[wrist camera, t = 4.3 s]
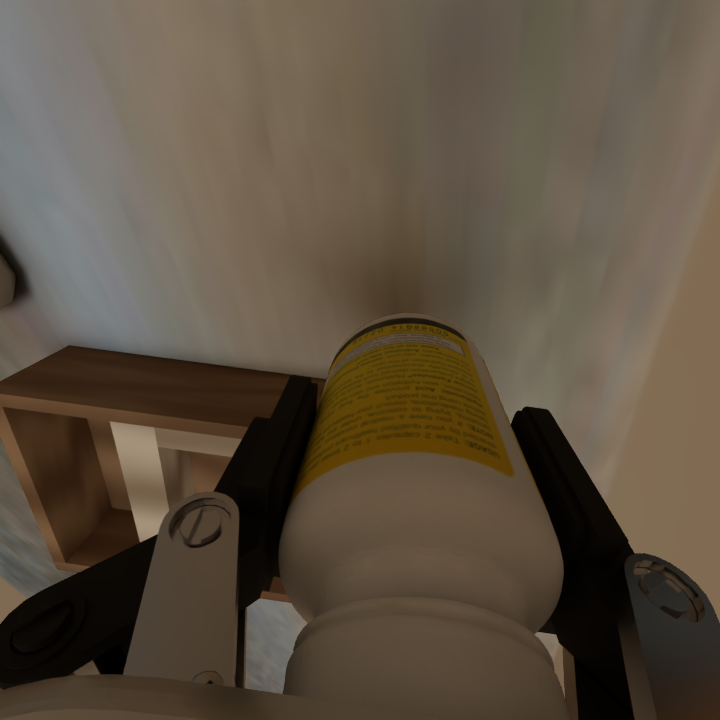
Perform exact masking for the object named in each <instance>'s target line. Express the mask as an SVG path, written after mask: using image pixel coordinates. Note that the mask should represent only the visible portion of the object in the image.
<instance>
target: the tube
mask: <svg viewBox="0 0 720 720" xmlns="http://www.w3.org/2000/svg"><path fill="white" fill-rule="evenodd" d="M15 280H16V276H15V273H14V272H13V270H12V269H11V267H10V266H9V264H8V263H7V261H6V260H5V259H4V257H3V256H2V254H1V253H0V309H1V308H2V307H4V306H5V305H7V304H9V303H10V302H12V299H13V295H14V289H15Z"/></svg>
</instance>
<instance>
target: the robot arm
mask: <svg viewBox="0 0 720 720" xmlns="http://www.w3.org/2000/svg"><path fill="white" fill-rule="evenodd" d="M317 392H318V384H317V383H311V377H304V376H297V375H291V376H290V378H289V380H288V382H287V384H286V386H285V388H284V390H283V393H282V395H281V397H280V399H279V401H278V403H277V405H276V407H275V409H274V411H273V413H272V415H271V417H270V418H263V417H255V418H254V419H253V420H252V422H251V424H250V425H249V427H248V429H247V431H246V433H245V435H244V436H243V438H242V440H241V442H240V444H239V446H238V447H237V449H236V451H235V453H234V455H233V456H232V458H231V460H230V462H229V464H228V466H227V467H226V469H225V471H224V473H223V475H222V477H221V478H220V480H219V482H218V484H217V486H216V488H215V489H214V491H213V492H202V493H198V494H193V495H191V496H189V497H187V498H185V499H183V500H181V501H180V502H178V503H177V504H176V505H174V506H173V507H172V508H171V509H170V510H169V512H168V513H167V514H166V515H165V516H164V519H163V521H162V523H161V525H160V528H159V532H158V534H157V535H155V536H153V537H150V538H148V539H146V540H144V541H142V542H140V543H138V544H136V545H134V546H132V547H130V548H128V549H126V550H124V551H122V552H120V553H118V554H116V555H114V556H112V557H110V558H107V559H105V560H103V561H101V562H99V563H97V564H95V565H93V566H91V567H89V568H87V569H85V570H83V571H81V572H79V573H77V574H75V575H73V576H71V577H69V578H67V579H64V580H62V581H60V582H58V583H56V584H54V585H52V586H50V587H48V588H46V589H44V590H42V591H40V592H38V593H37V594H35V595H33V596H32V597H30V598H28V599H27V600H25V601H24V602H23V603H22V604H20V605H19V606H18V607H17V608H16V609H14V610H13V611H12V612H11V613H9V614H8V616H7V617H6V618H5V619H4V620H3V622H2V623H1V624H0V720H449V719H442V718H436V717H429V716H423V715H417V714H410V713H404V712H397V711H391V710H384V709H378V708H371V707H364V706H358V705H351V704H344V703H338V702H331V701H325V700H318V699H311V698H305V697H298V696H291V695H285V694H278V693H271V692H265V691H258V690H252V689H245V681H246V629H247V607H248V606H249V605H251V604H252V603H253V602H255V601H256V600H258V599H259V598H260V596H261V593H262V590H263V591H270V587H271V584H272V581H273V577H279V578H281V576H280V570H279V561H278V556H279V542H280V537H281V532H282V528H283V524H284V518H285V514H286V511H287V507H288V504H289V501H290V498H291V494H292V491H293V487H294V484H295V481H296V478H297V474H298V471H299V468H300V464H301V461H302V458H303V455H304V452H305V449H306V445H307V442H308V439H309V435H310V432H311V429H312V425H313V422H314V419H315V416H316V410H317ZM511 427H512V430H513V431H514V433H515V436H516V438H517V441H518V443H519V446H520V448H521V450H522V453H523V455H524V457H525V460H526V462H527V464H528V467H529V469H530V471H531V474H532V476H533V478H534V481H535V483H536V485H537V488H538V490H539V492H540V494H541V497H542V499H543V501H544V504H545V507H546V509H547V511H548V514H549V517H550V520H551V523H552V525H553V528H554V531H555V534H556V536H557V539H558V543H559V546H560V550H561V554H562V559H563V567H564V576H563V584H562V591H561V594H560V597H559V600H558V603H557V606H556V608H555V609H554V611H553V613H552V615H551V616H550V618H549V619H548V620H547V621H546V623H545V624H544V625H543V626H542V627H541V628H540V629H539V631H538V632H543V633H550V634H556V635H557V638H558V641H559V643H560V644H561V645H562V646H563V667H564V687H565V702H566V705H567V709H568V712H569V716H570V719H571V720H720V623H719V620H718V618H717V615H716V613H715V610H714V608H713V606H712V604H711V603H710V601H709V599H708V597H707V595H706V594H705V593H704V592H703V591H702V589H701V588H700V587H699V586H698V585H697V584H696V582H694V581H693V580H692V579H691V578H690V577H689V576H688V575H687V574H685V573H684V572H683V571H681V570H680V569H678V568H677V567H676V566H674V565H673V564H671V563H669V562H667V561H665V560H663V559H661V558H659V557H656V556H653V555H649V554H645V553H643V554H642V553H639V554H638V553H634V552H633V550H632V548H631V547H630V545H629V543H628V539H627V538H626V536H625V535H624V533H623V531H622V529H621V528H620V526H619V525H618V523H617V521H616V519H615V518H614V516H613V515H612V513H611V511H610V510H609V508H608V506H607V505H606V503H605V501H604V500H603V498H602V497H601V495H600V493H599V492H598V490H597V488H596V487H595V485H594V483H593V482H592V480H591V478H590V477H589V475H588V474H587V472H586V470H585V469H584V467H583V465H582V464H581V462H580V460H579V459H578V457H577V455H576V454H575V452H574V451H573V449H572V447H571V446H570V444H569V442H568V441H567V439H566V437H565V436H564V434H563V433H562V431H561V429H560V428H559V426H558V424H557V423H556V421H555V419H554V418H553V416H552V414H551V413H550V412H549V410H547V409H541V408H534V407H524V408H523V409H522V411H517V412H516V413H515V415H514V418H513V420H512V423H511Z"/></svg>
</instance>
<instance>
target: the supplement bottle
mask: <svg viewBox="0 0 720 720" xmlns="http://www.w3.org/2000/svg"><path fill="white" fill-rule="evenodd" d="M278 561H279V570H280V576H281V580H282V583H283V586H284V588H285V591H286V593H287V595H288V597H289V599H290V601H291V603H292V605H293V606H294V608H295V609H296V611H297V612H298V613H299V614H300V615H301V617H302V618H303V619H304V620H305V621H306V622H307V623H308V624H307V625H306V626H305V627H304V628H303V629H302V631H301V632H300V634H299V635H298V637H297V639H296V642H295V646H294V652H293V654H292V655H291V657H290V659H289V661H288V665H287V668H286V675H285V684H284V690H283V694H285V695H291V696H298V697H305V698H311V699H318V700H325V701H331V702H338V703H344V704H351V705H358V706H364V707H371V708H378V709H384V710H391V711H397V712H404V713H410V714H417V715H423V716H429V717H436V718H442V719H449V720H571V719H570V716H569V712H568V709H567V705H566V702H565V698H564V695H563V691H562V687H561V685H560V682H559V680H558V677H557V675H556V673H555V672H554V665H553V661H552V658H551V656H550V654H549V652H548V650H547V649H546V647H545V646H544V645H543V643H542V642H541V641H540V640H539V638H538V637H536V636H535V635H534V634H535V633H537V632H538V631H539V629H540V628H541V627H542V626H543V625H544V624H545V623H546V621H547V620H548V619H549V618H550V616H551V615H552V613H553V611H554V609H555V608H556V606H557V603H558V600H559V597H560V594H561V591H562V584H563V576H564V567H563V559H562V554H561V550H560V546H559V543H558V539H557V536H556V534H555V531H554V528H553V525H552V523H551V520H550V517H549V514H548V511H547V509H546V507H545V504H544V501H543V499H542V497H541V494H540V492H539V490H538V488H537V485H536V483H535V481H534V478H533V476H532V474H531V471H530V469H529V467H528V464H527V462H526V460H525V457H524V455H523V453H522V450H521V448H520V446H519V443H518V441H517V438H516V436H515V433H514V431H513V430H512V427H511V425H510V422H509V419H508V417H507V415H506V413H505V410H504V408H503V405H502V403H501V401H500V398H499V395H498V393H497V391H496V389H495V386H494V384H493V381H492V379H491V376H490V374H489V371H488V369H487V367H486V365H485V362H484V360H483V358H482V356H481V354H480V353H479V351H478V349H477V347H476V346H475V344H474V343H473V342H472V341H471V339H470V338H469V337H468V336H467V335H466V334H465V333H463V332H462V331H461V330H460V329H458V328H457V327H455V326H454V325H452V324H450V323H449V322H446V321H444V320H442V319H439V318H436V317H433V316H430V315H425V314H419V313H398V314H392V315H388V316H384V317H381V318H378V319H375V320H373V321H371V322H369V323H367V324H365V325H363V326H362V327H360V328H359V329H357V330H356V331H355V332H354V333H353V334H352V335H351V336H350V337H349V338H348V339H347V340H346V341H345V342H344V343H343V345H342V346H341V347H340V349H339V350H338V352H337V354H336V356H335V358H334V360H333V362H332V365H331V367H330V370H329V373H328V377H327V380H326V383H325V387H324V390H323V393H322V397H321V400H320V403H319V406H318V409H317V413H316V416H315V419H314V422H313V425H312V429H311V432H310V435H309V439H308V442H307V445H306V449H305V452H304V455H303V458H302V461H301V464H300V468H299V471H298V474H297V478H296V481H295V484H294V487H293V491H292V494H291V498H290V501H289V504H288V507H287V511H286V514H285V518H284V524H283V528H282V532H281V537H280V542H279V556H278Z"/></svg>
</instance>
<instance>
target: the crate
mask: <svg viewBox="0 0 720 720" xmlns="http://www.w3.org/2000/svg"><path fill="white" fill-rule="evenodd" d="M290 376H291V375H287V374H280V373H272V372H265V371H257V370H250V369H242V368H234V367H227V366H219V365H212V364H204V363H197V362H189V361H181V360H174V359H166V358H159V357H151V356H143V355H136V354H128V353H121V352H113V351H106V350H98V349H90V348H83V347H75V346H67V347H65V348H63V349H62V350H60V351H58V352H56V353H54V354H52V355H50V356H48V357H46V358H44V359H42V360H40V361H38V362H36V363H35V364H33V365H31V366H29V367H27V368H25V369H23V370H21V371H19V372H17V373H15V374H13V375H11V376H9V377H8V378H6V379H4V380H2V381H0V437H1V439H2V442H3V444H4V446H5V449H6V451H7V453H8V456H9V458H10V460H11V463H12V465H13V467H14V470H15V472H16V474H17V477H18V479H19V481H20V484H21V486H22V488H23V491H24V493H25V495H26V498H27V500H28V502H29V505H30V507H31V509H32V512H33V514H34V516H35V519H36V521H37V523H38V526H39V528H40V530H41V533H42V535H43V538H44V540H45V542H46V545H47V547H48V549H49V552H50V554H51V556H52V559H53V561H54V563H55V566H56V568H57V569H60V570H67V571H74V572H81V571H83V570H85V569H87V568H89V567H91V566H93V565H95V564H97V563H99V562H101V561H103V560H105V559H107V558H110V557H112V556H114V555H116V554H118V553H120V552H122V551H124V550H126V549H128V548H130V547H132V546H134V545H136V544H138V543H140V542H142V541H144V540H146V539H148V538H150V537H153V536H155V535H157V534H158V532H159V528H160V525H161V523H162V521H163V519H164V516H165V515H166V514H167V513H168V512H169V510H170V509H171V508H172V507H173V506H174V505H176V504H177V503H178V502H180V501H181V500H183V499H185V498H187V497H189V496H191V495H193V494H198V493H202V492H213V491H214V489H215V488H216V486H217V484H218V482H219V480H220V478H221V477H222V475H223V473H224V471H225V469H226V467H227V466H228V464H229V462H230V460H231V458H232V456H233V455H234V453H235V451H236V449H237V447H238V446H239V444H240V442H241V440H242V438H243V436H244V435H245V433H246V431H247V429H248V427H249V425H250V424H251V422H252V420H253V419H254V418H255V417H263V418H270V417H271V415H272V413H273V411H274V409H275V407H276V405H277V403H278V401H279V399H280V397H281V395H282V393H283V390H284V388H285V386H286V384H287V382H288V380H289V378H290ZM311 383H317V384H318V392H317V409H318V406H319V403H320V400H321V397H322V393H323V390H324V387H325V383H326V380H325V379H318V378H311ZM316 413H317V410H316ZM260 598H262V599H269V600H275V601H282V602H289V603H291V601H290V599H289V597H288V595H287V593H286V591H285V588H284V586H283V583H282V580H281V578H279V577H273V581H272V584H271V587H270V591H263V590H262V593H261V596H260Z"/></svg>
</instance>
